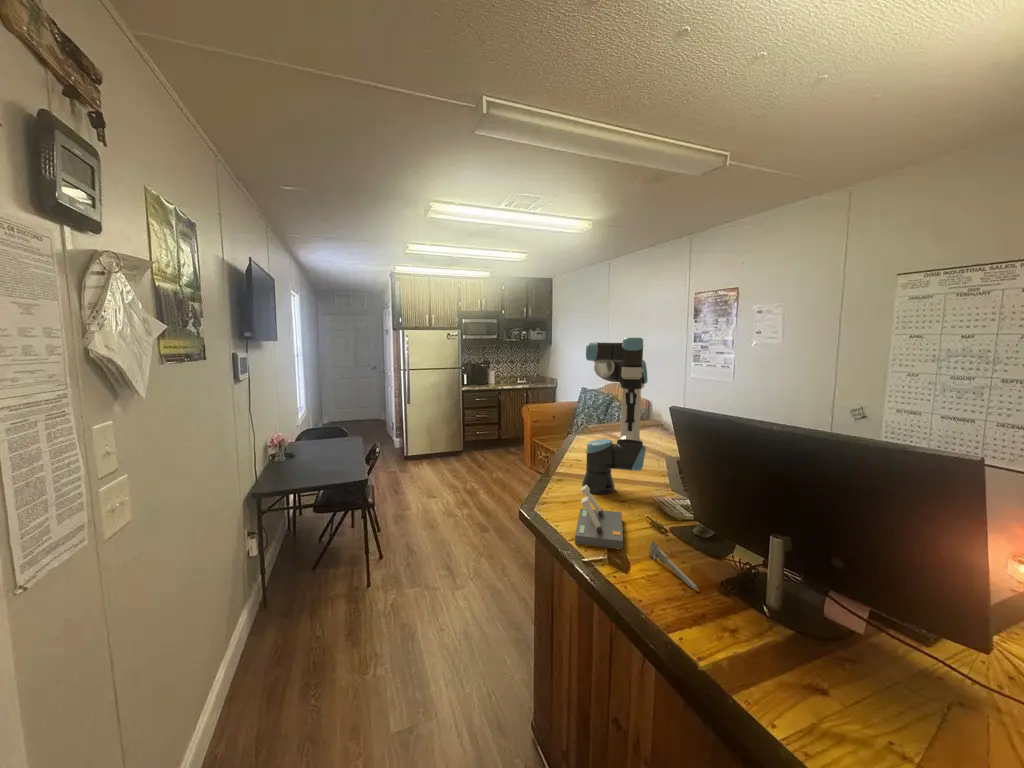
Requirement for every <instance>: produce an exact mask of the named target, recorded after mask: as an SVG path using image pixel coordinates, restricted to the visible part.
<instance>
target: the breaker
mask: <svg viewBox="0 0 1024 768" xmlns="http://www.w3.org/2000/svg"><path fill="white" fill-rule="evenodd" d="M589 491H590V488H589V487H588V485H585V486H583V487H582V486H581V489H580V492H581V493H582V495H583V496H585V497H587V496H588V497H589V499H590V501H591V502H590V504H591V505H592V507H593V508H594V510H596V511H597V512H598V516H600V517H601V516H602V515H603V511H604V509H603V508H602V507H600V506H599V504H598V503H597V501H596V499H595V498H594V496H593V495H592V493H590V492H589Z"/></svg>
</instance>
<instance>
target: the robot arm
mask: <svg viewBox="0 0 1024 768" xmlns="http://www.w3.org/2000/svg"><path fill="white" fill-rule="evenodd" d="M643 353H644V338H642V337H624V338H623V339H622V342H596V341H595V342H588V343H586V347H585V359H586V361H588V362H589V361H591V362H593V363H594V365H593V366H594V367H593V368H594V369H593V371H595V374H596V376H597V377H599V378H601V379H602V380H604V381H608V382H610V383H619V387H620V388H621V390H622V393H621V394H622V395H621V415H620V416H621V420H620V421H621V422H620V437H619V438H618V439H617V440H616V443H613V441H612V440H611V439H605V438H604V439H603V438H602V439H601V438H600V439H594V440H591V441H589V442H588V443H587V444H586V464H585V465H586V466H585V468H586V470H585V471H586V472H585V474H584V477H583V479H582V483H581V485H582V486H581V488H582V487H583V486H585V485H588V487H589V488H590V491H589V492H591V494H594V495H595V494H596V495H608V494H611V493H613V492H614V491H615V487H616V486H615V483H614V479H613V476H612V470H623V471H624V470H625V471H630V472H633V471H634V472H637V471H638V472H639V471H641V470H643V468H644V463H645V456H646V451H647V446H646V445H643V444H644V442H643V440H642V439H641V438H640V435H641V434H640V432H641V431H640V430H641V429H640V428H641V396H642V389H644V387H645V384H648V368H647V363H646V361H645V360H644V354H643Z"/></svg>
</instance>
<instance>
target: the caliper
mask: <svg viewBox="0 0 1024 768" xmlns="http://www.w3.org/2000/svg"><path fill="white" fill-rule="evenodd" d="M658 545H659V543H657V542H656V540H654V541H652V542H651V543H650V545H649V549H648V551H649V553H648V554H649V555H648V557H649V558H651V557H652V561H657V560H659V561H660V562H661V563H662V564H663V565H664V564H665V565H666V566H667V567H668V568H670V569H671V570H672V572H674V573H675V575H676V576H678V578H680V579H681V581H683V583H685V584H686V585H687V587H689V586H690V587H691V588H693V589H695V590H700V589H699V588H698V586H697V584H695V582H694V581H692V580H691V579H690V578H689V577H688V575H686V574H685V573H684V572H683V571H682V570H681V569H680V568H679V567H678V566H677V565H676V564H675V563H674V562H672V560H671V559H669V556H668V554H666V553H665V552H664V551H663V550H662V549H661V548H660V547H658ZM690 587H689V588H690ZM691 588H690V589H691ZM693 589H692V590H693ZM695 590H694V591H695Z"/></svg>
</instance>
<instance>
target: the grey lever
mask: <svg viewBox="0 0 1024 768" xmlns="http://www.w3.org/2000/svg"><path fill="white" fill-rule="evenodd" d="M580 504H581V505H582V508H583V509H587V511H588V513H589V515H590V517H591V519H592V521H593V523H594V525H595V527H596V528H597V532H598V533H601V532H602V525H601V524H600V523H599V521H598V519H597V517H596V515H595V513H594V511H593V510H594V509H593V508H592V507H593V506H591V501H590V499H589V497H588V496H585V497H583V498H581V502H580Z"/></svg>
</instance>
